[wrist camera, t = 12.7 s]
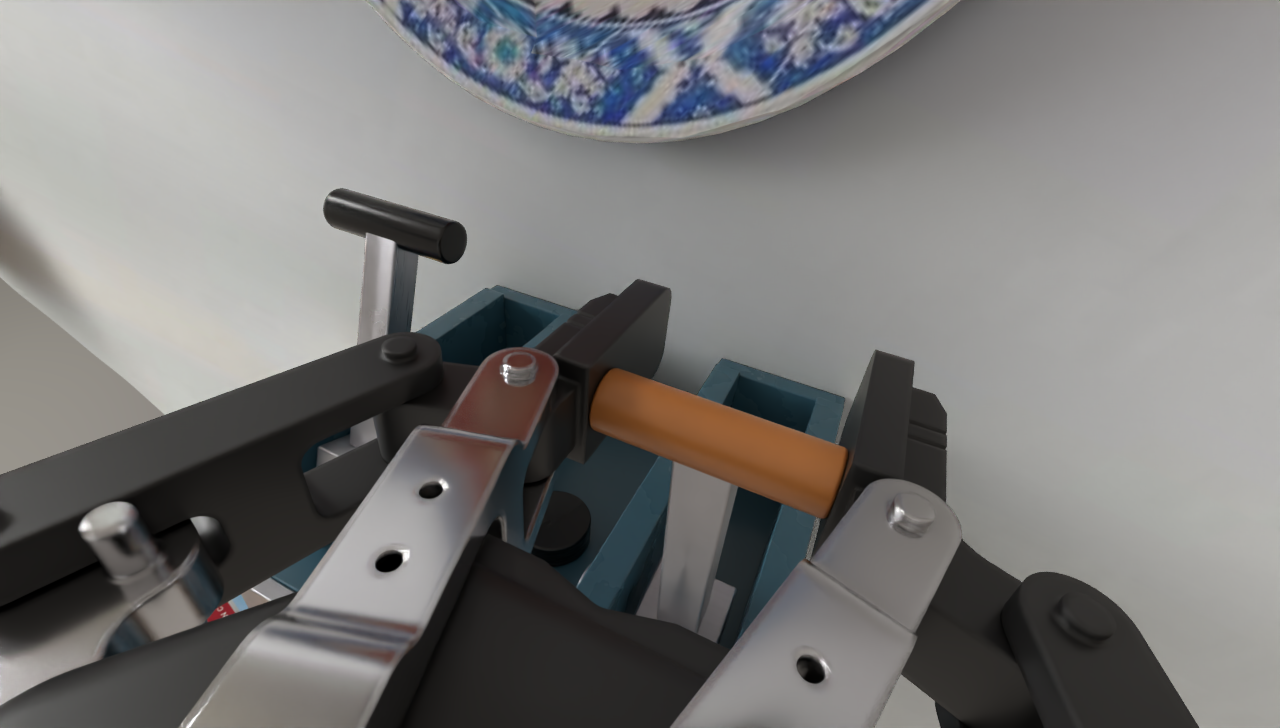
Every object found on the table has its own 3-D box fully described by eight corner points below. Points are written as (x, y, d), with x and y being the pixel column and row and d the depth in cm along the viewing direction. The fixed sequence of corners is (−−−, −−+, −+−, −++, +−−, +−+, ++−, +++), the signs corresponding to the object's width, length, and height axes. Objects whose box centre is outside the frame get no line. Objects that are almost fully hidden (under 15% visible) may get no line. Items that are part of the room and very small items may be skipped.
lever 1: (373, 190, 18) (303, 184, 16) (483, 222, 17) (425, 220, 14) (349, 481, 21) (289, 510, 19) (441, 526, 20) (388, 563, 18)
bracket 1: (487, 277, 26) (233, 434, 17) (602, 314, 25) (389, 511, 15) (492, 355, 29) (274, 529, 20) (597, 393, 27) (412, 604, 18)
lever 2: (632, 334, 11) (567, 423, 9) (861, 408, 9) (831, 526, 8) (628, 583, 18) (592, 656, 16) (757, 643, 17) (731, 728, 15)
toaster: (500, 341, 28) (217, 561, 17) (822, 457, 24) (713, 856, 13) (509, 492, 35) (306, 723, 24) (764, 607, 30) (658, 958, 19)
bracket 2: (711, 349, 23) (549, 591, 14) (860, 397, 22) (792, 711, 12) (695, 429, 26) (549, 679, 16) (827, 478, 24) (750, 789, 15)
